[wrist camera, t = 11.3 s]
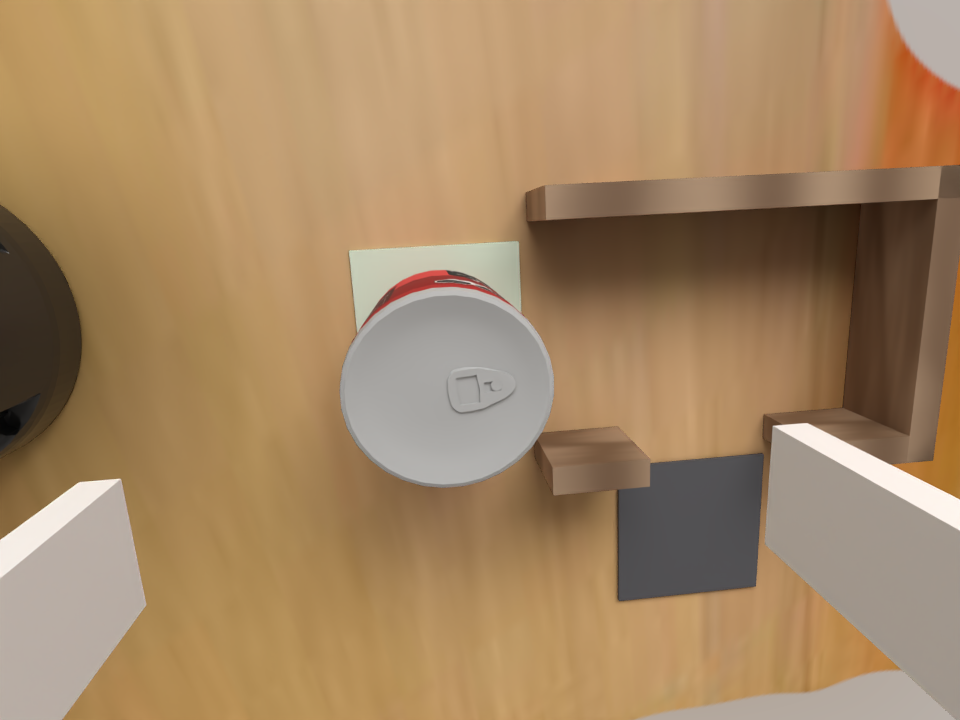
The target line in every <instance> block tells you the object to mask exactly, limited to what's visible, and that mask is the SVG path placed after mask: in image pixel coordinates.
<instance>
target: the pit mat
mask: <svg viewBox="0 0 960 720" xmlns="http://www.w3.org/2000/svg"><path fill="white" fill-rule="evenodd" d="M763 459H764V454H762V453H761V454H750V455H738V456H727V457H716V458H705V459H693V460H682V461H671V462H660V463H650V487H640V488H629V489H618V600H619V601H624V600H633V599H642V598H652V597H661V596H670V595H679V594H689V593H698V592H707V591H716V590H726V589H735V588H744V587H753V586H756V576H757V559H758V542H759V526H760V509H761V492H762V475H763Z"/></svg>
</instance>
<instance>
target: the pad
mask: <svg viewBox="0 0 960 720" xmlns="http://www.w3.org/2000/svg"><path fill="white" fill-rule="evenodd" d="M349 257H350V266H351V276H352V286H353V296H354V306H355V316H356V326H357V333H358V331H359V330H360V328H361V326H362V325H363V323H364V322H365V320H366V319H367V318H368V316H369V315H370V313H371V312H372V310H373V309H374V307H375V306H376V304H377V303H378V301H379V300H380V299H381V298H382V297H383V296H384V295H385V294H386V292H387V291H388V290H389V289H390V288H392V287H393V286H395V285H396V284H397V283H399V282H400V281H402V280H404V279H406V278H408V277H410V276H412V275H415V274H418V273H422V272H426V271H432V270H450V271H457V272H461V273H464V274H467V275H470V276H473V277H475V278H477V279H479V280H480V281H482V282H484V283H485V284H487V285H488V286H489V287H491V288H492V289H493V290H494V291H496V292H497V293H498V294H499V295H500V296H502V297H503V298H504V299H505V300H507V301H508V302H509V303H510V304H511V305H512V306H514V307H515V308H516V309H517V310H518V311H519V312H520V313H521V288H520V261H519V241H511V242H493V243H476V244H458V245H440V246H422V247H404V248H387V249H369V250H351V251H349Z"/></svg>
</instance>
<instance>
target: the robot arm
mask: <svg viewBox="0 0 960 720" xmlns="http://www.w3.org/2000/svg"><path fill="white" fill-rule="evenodd" d="M80 358H81V330H80V322H79V316H78V312H77V308H76V304H75V301H74V298H73V295H72V293H71V290H70V288H69V285H68V283H67V281H66V279H65V277H64V275H63V273H62V271H61V269H60V268H59V266H58V264H57V263H56V261H55V260H54V258H53V257H52V255H51V254H50V252H49V251H48V250H47V248H46V247H45V246H44V245H43V243H42V242H41V241H40V240H39V239H38V238H37V236H36V235H35V234H34V233H33V232H32V231H31V230H30V229H29V228H28V227H27V226H26V225H25V224H24V223H23V222H22V221H20V220H19V219H18V218H17V217H16V216H15V215H13V214H12V213H11V212H9V211H8V210H7V209H5V208H4V207H3V206H1V205H0V458H2V457H3V456H5V455H7V454H9V453H11V452H13V451H15V450H17V449H19V448H20V447H22V446H24V445H25V444H27V443H28V442H30V441H31V440H33V439H34V438H35V437H37V436H38V435H39V434H40V433H41V432H43V431H44V430H45V429H46V428H47V427H48V426H49V425H50V424H51V423H52V422H53V420H54V419H55V418H56V417H57V415H58V414H59V413H60V411H61V410H62V408H63V407H64V405H65V403H66V402H67V400H68V398H69V396H70V394H71V391H72V389H73V387H74V384H75V381H76V378H77V374H78V370H79V364H80ZM765 545H766V546H767V547H768V548H770V549H771V550H772V551H773V552H774V553H775V554H776V555H777V556H778V557H779V558H780V559H782V560H783V561H784V562H785V563H786V564H787V565H788V566H789V567H790V568H791V569H792V570H794V571H795V572H796V573H797V574H798V575H799V576H800V577H801V578H802V579H803V580H804V581H806V582H807V583H808V584H809V585H810V586H811V587H812V588H813V589H814V590H815V591H816V592H817V593H819V594H820V595H821V596H822V597H823V598H824V599H825V600H826V601H827V602H828V603H829V604H831V605H832V606H833V607H834V608H835V609H836V610H837V611H838V612H839V613H840V614H841V615H843V616H844V617H845V618H846V619H847V620H848V621H849V622H850V623H851V624H852V625H853V626H855V627H856V628H857V629H858V630H859V631H860V632H861V633H862V634H863V635H864V636H865V637H866V638H868V639H869V640H870V641H871V642H872V643H873V644H874V645H875V646H876V647H877V648H878V649H880V650H881V651H882V652H883V653H884V654H885V655H886V656H887V657H888V658H889V659H890V660H892V661H893V662H894V663H895V664H896V665H897V666H898V667H899V668H900V669H901V670H902V671H904V672H905V673H906V674H907V675H908V676H909V677H910V678H911V679H912V680H913V681H914V682H916V683H917V684H918V685H919V686H920V687H921V688H922V689H923V690H924V691H925V692H926V693H927V694H929V695H930V696H931V697H932V698H933V699H934V700H935V701H936V702H938V703H939V704H940V705H941V706H942V707H943V708H944V709H945V710H946V711H947V712H948V713H949V714H950V715H952V716H953V717H954V718H955V719H956V720H960V500H959V499H958V498H956V497H954V496H952V495H950V494H948V493H946V492H944V491H942V490H940V489H938V488H936V487H934V486H932V485H930V484H928V483H926V482H924V481H922V480H920V479H918V478H916V477H914V476H912V475H910V474H908V473H906V472H904V471H902V470H900V469H898V468H896V467H894V466H892V465H890V464H888V463H886V462H884V461H882V460H880V459H878V458H876V457H874V456H872V455H870V454H868V453H866V452H864V451H862V450H860V449H858V448H856V447H854V446H852V445H850V444H848V443H846V442H844V441H842V440H840V439H838V438H836V437H834V436H832V435H830V434H828V433H826V432H824V431H822V430H820V429H818V428H816V427H814V426H812V425H810V424H808V423H801V424H789V425H777V426H773V430H772V444H771V459H770V473H769V488H768V503H767V517H766V532H765ZM145 606H146V601H145V596H144V591H143V586H142V581H141V576H140V571H139V566H138V561H137V556H136V551H135V546H134V541H133V536H132V531H131V526H130V521H129V516H128V511H127V506H126V501H125V496H124V491H123V486H122V481H121V479H112V480H99V481H87V482H79V483H77V484H76V485H74V486H73V487H72V488H70V489H69V490H68V491H66V492H65V493H64V494H62V495H61V496H60V497H58V498H57V499H55V500H54V501H53V502H51V503H50V504H49V505H47V506H46V507H45V508H43V509H42V510H40V511H39V512H38V513H36V514H35V515H34V516H32V517H31V518H30V519H28V520H27V521H25V522H24V523H23V524H21V525H20V526H19V527H17V528H16V529H15V530H13V531H12V532H10V533H9V534H8V535H6V536H5V537H4V538H2V539H1V540H0V720H62V719H63V718H64V716H65V715H66V714H67V712H68V711H69V710H70V708H71V707H72V706H73V704H74V703H75V701H76V700H77V699H78V697H79V696H80V695H81V693H82V692H83V691H84V689H85V688H86V687H87V685H88V684H89V682H90V681H91V680H92V678H93V677H94V676H95V674H96V673H97V672H98V670H99V669H100V667H101V666H102V665H103V663H104V662H105V661H106V659H107V658H108V657H109V655H110V654H111V653H112V651H113V650H114V648H115V647H116V646H117V644H118V643H119V642H120V640H121V639H122V638H123V636H124V635H125V634H126V632H127V631H128V629H129V628H130V627H131V625H132V624H133V623H134V621H135V620H136V619H137V617H138V616H139V614H140V613H141V612H142V610H143V609H144V608H145Z"/></svg>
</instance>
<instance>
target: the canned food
mask: <svg viewBox="0 0 960 720" xmlns="http://www.w3.org/2000/svg"><path fill="white" fill-rule="evenodd" d="M553 397H554V375H553V371H552V366H551V361H550V357H549V355H548V352H547V350H546V348H545V346H544V344H543V341H542V339H541V337H540V335H539V334H538V333H537V331H536V330H535V329H534V327H533V326H532V324H531V323H530V322H529V320H527V319H526V318H525V316H524V315H523V314H521V313H520V312H519V311H518V310H517V309H516V308H515V307H514V306H512V305H511V304H510V303H509V302H508V301H507V300H505V299H504V298H503V297H502V296H500V295H499V294H498V293H497V292H496V291H494V290H493V289H492V288H491V287H489V286H488V285H487V284H485V283H484V282H482V281H480V280H479V279H477V278H475V277H473V276H470V275H467V274H464V273H461V272H457V271H450V270H432V271H426V272H422V273H418V274H415V275H412V276H410V277H408V278H406V279H404V280H402V281H400V282H399V283H397V284H396V285H395V286H393V287H392V288H390V289H389V290H388V291H387V292H386V294H385V295H384V296H383V297H382V298H381V299H380V300H379V301H378V303H377V304H376V306H375V307H374V309H373V310H372V312H371V313H370V315H369V316H368V318H367V319H366V320H365V322H364V323H363V325H362V326H361V328H360V330H359V331H358V333H357V335H356V336H355V338H354V339H353V341H352V344H351V345H350V347H349V349H348V352H347V355H346V358H345V361H344V363H343V366H342V374H341V382H340V399H341V410H342V413H343V416H344V419H345V422H346V426H347V428H348V430H349V432H350V434H351V435H352V437H353V439H354V441H355V443H356V444H357V446H358V447H359V448H360V449H361V450H362V451H363V452H364V454H365V455H366V456H367V457H368V458H369V459H370V460H371V461H372V462H374V463H375V464H376V465H378V466H379V467H380V468H382V469H383V470H384V471H385V472H387V473H389V474H392V475H394V476H396V477H398V478H400V479H402V480H404V481H407V482H411V483H415V484H418V485H422V486H430V487H440V488H446V487H459V486H466V485H470V484H474V483H477V482H481V481H484V480H486V479H489V478H491V477H493V476H495V475H497V474H500V473H502V472H503V471H504V470H506V469H507V468H509V467H510V466H512V465H513V464H515V463H516V462H518V461H519V460H520V459H521V458H522V457H523V456H524V455H525V454H526V453H527V452H528V451H529V450H530V449H531V448H532V446H533V445H534V443H535V442H536V440H537V439H538V437H539V436H540V434H541V433H542V431H543V429H544V427H545V424H546V422H547V420H548V417H549V415H550V411H551V406H552V402H553Z"/></svg>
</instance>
